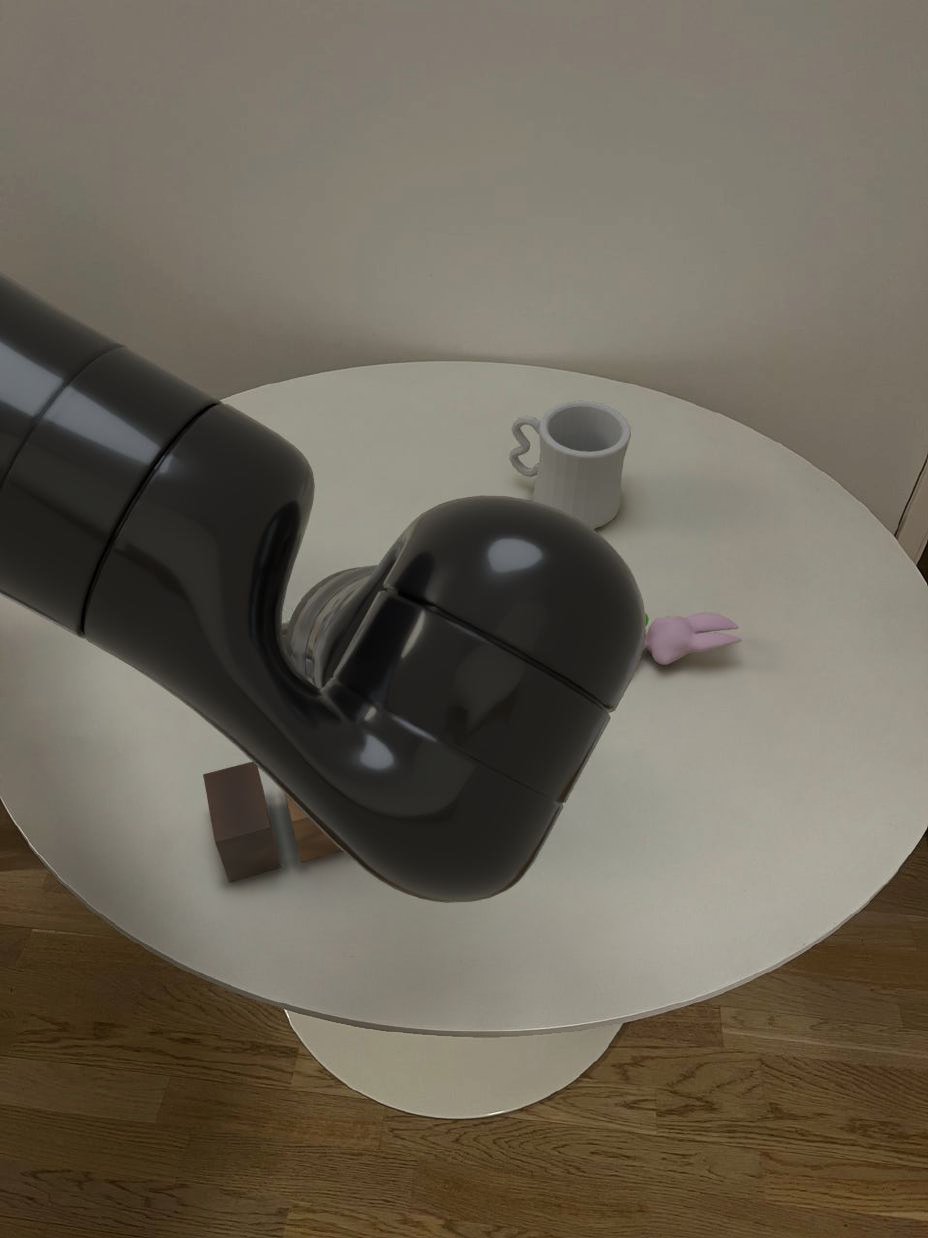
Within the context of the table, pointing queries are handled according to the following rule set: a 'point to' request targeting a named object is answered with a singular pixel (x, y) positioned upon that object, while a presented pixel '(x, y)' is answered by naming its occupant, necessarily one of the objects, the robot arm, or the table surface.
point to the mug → (577, 459)
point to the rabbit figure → (687, 635)
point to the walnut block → (241, 821)
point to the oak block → (308, 835)
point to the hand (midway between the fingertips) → (338, 635)
